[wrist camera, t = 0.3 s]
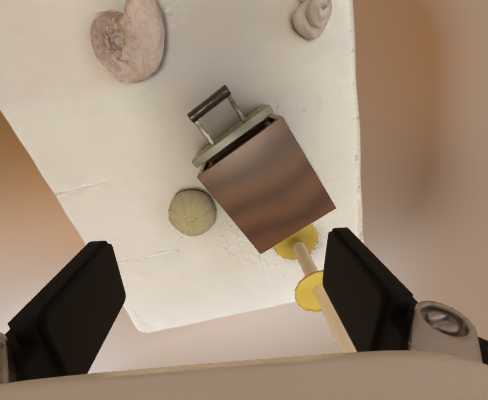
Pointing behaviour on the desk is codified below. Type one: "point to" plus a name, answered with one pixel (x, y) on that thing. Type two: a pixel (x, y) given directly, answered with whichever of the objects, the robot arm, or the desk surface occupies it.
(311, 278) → the candle
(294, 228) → the cabinet
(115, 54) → the fossil
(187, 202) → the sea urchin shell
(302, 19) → the rubber duck
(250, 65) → the desk surface
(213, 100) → the drawer
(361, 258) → the robot arm
